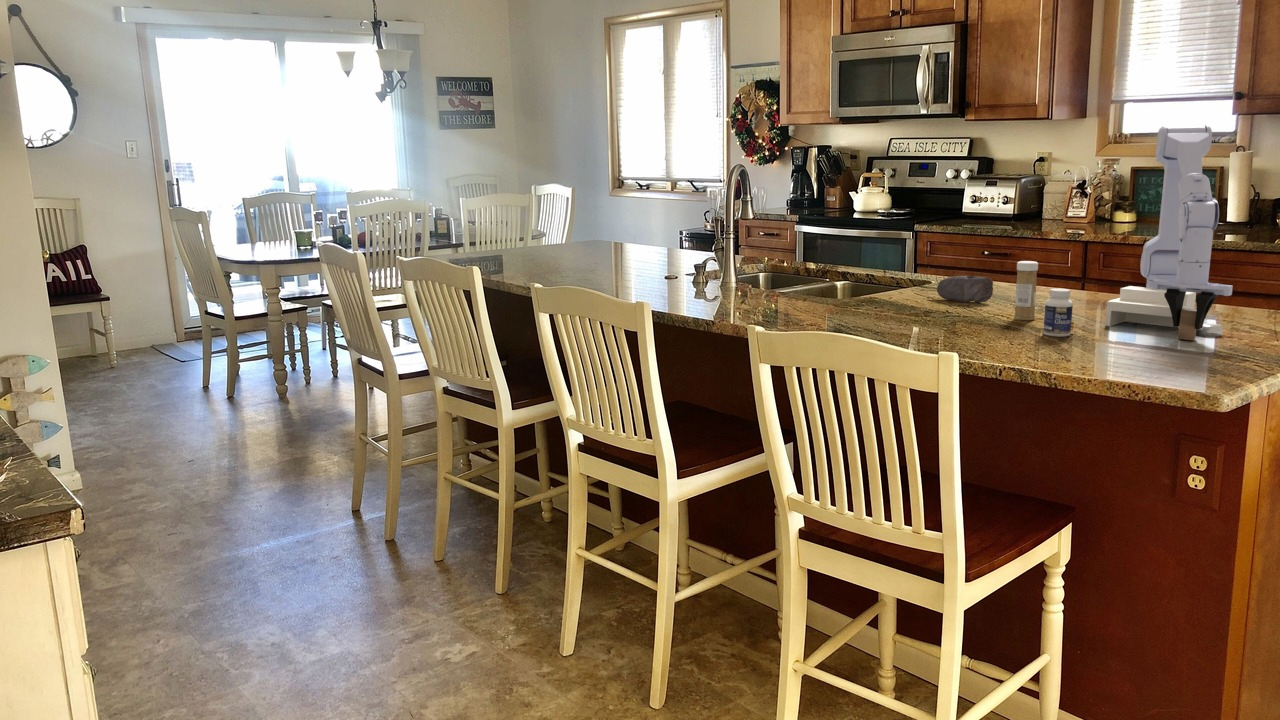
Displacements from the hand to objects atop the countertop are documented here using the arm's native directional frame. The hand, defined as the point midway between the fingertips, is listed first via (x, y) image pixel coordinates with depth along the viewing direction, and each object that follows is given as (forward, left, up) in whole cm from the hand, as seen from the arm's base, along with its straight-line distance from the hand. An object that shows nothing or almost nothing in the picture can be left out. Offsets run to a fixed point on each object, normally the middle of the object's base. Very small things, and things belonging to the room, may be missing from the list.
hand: (1187, 327), depth 207 cm
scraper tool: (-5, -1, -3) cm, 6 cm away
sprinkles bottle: (-1, -36, -3) cm, 36 cm away
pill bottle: (+12, -22, -3) cm, 25 cm away
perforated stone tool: (-15, -60, -3) cm, 62 cm away
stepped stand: (-9, -11, -3) cm, 15 cm away
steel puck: (-9, +1, -3) cm, 10 cm away
